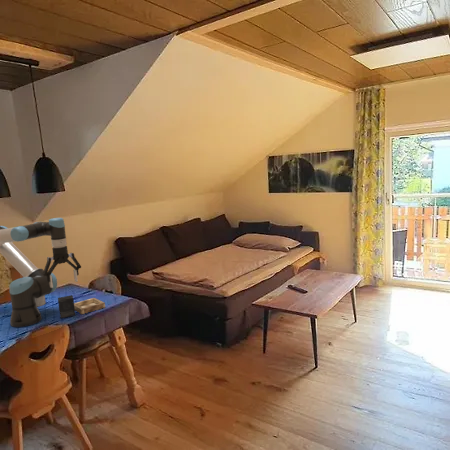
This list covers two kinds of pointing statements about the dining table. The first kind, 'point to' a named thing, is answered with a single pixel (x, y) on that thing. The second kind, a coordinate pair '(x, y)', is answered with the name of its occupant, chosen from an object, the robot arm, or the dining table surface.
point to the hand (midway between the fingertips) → (64, 284)
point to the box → (66, 306)
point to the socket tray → (89, 305)
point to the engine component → (40, 301)
